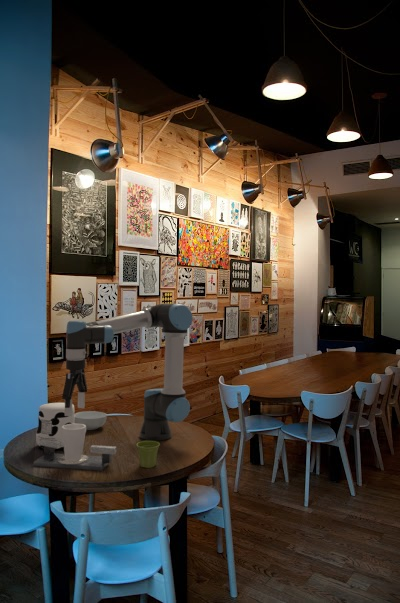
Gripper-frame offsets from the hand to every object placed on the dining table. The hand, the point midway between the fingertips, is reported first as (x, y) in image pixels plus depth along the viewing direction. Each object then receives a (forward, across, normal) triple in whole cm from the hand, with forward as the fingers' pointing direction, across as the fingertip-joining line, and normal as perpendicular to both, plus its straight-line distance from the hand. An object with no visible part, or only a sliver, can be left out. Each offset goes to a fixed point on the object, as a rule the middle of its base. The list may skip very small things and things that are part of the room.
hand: (74, 411), depth 198 cm
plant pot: (+21, +3, -30) cm, 37 cm away
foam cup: (+19, 0, 0) cm, 19 cm away
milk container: (+21, +20, +16) cm, 33 cm away
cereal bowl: (+21, +52, +12) cm, 57 cm away
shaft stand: (+21, 0, 0) cm, 21 cm away
